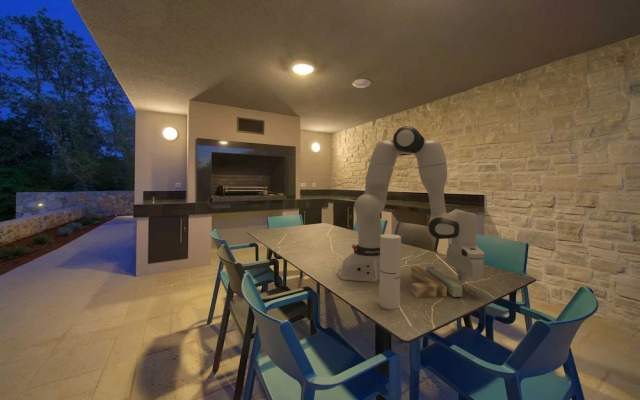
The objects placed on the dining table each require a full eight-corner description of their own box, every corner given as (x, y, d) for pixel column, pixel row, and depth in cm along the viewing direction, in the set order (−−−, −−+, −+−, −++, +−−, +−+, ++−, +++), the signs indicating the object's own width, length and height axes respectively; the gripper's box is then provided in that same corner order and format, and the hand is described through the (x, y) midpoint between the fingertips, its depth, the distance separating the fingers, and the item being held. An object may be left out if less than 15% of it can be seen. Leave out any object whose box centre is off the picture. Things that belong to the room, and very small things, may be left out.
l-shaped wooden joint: (415, 297, 97) (416, 287, 97) (394, 274, 121) (395, 266, 121) (448, 296, 98) (448, 286, 98) (421, 274, 122) (421, 266, 122)
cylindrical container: (376, 300, 95) (377, 234, 93) (395, 299, 96) (396, 233, 94) (382, 309, 88) (384, 238, 86) (402, 308, 89) (404, 238, 87)
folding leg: (423, 275, 120) (424, 265, 119) (431, 275, 120) (431, 265, 120) (453, 297, 97) (453, 284, 97) (462, 297, 97) (462, 284, 97)
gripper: (442, 242, 115) (441, 271, 116) (471, 255, 94) (469, 291, 95) (456, 242, 115) (454, 271, 116) (487, 255, 95) (485, 291, 96)
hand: (461, 280), depth 106 cm, fingers closed
